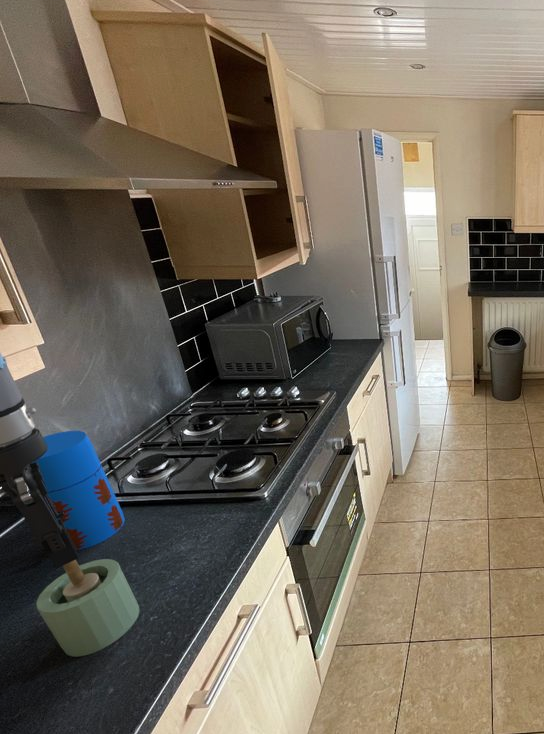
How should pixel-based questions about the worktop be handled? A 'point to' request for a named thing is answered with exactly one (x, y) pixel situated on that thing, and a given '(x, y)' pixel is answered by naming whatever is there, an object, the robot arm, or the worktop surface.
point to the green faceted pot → (90, 610)
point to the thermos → (80, 488)
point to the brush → (79, 582)
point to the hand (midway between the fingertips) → (66, 558)
